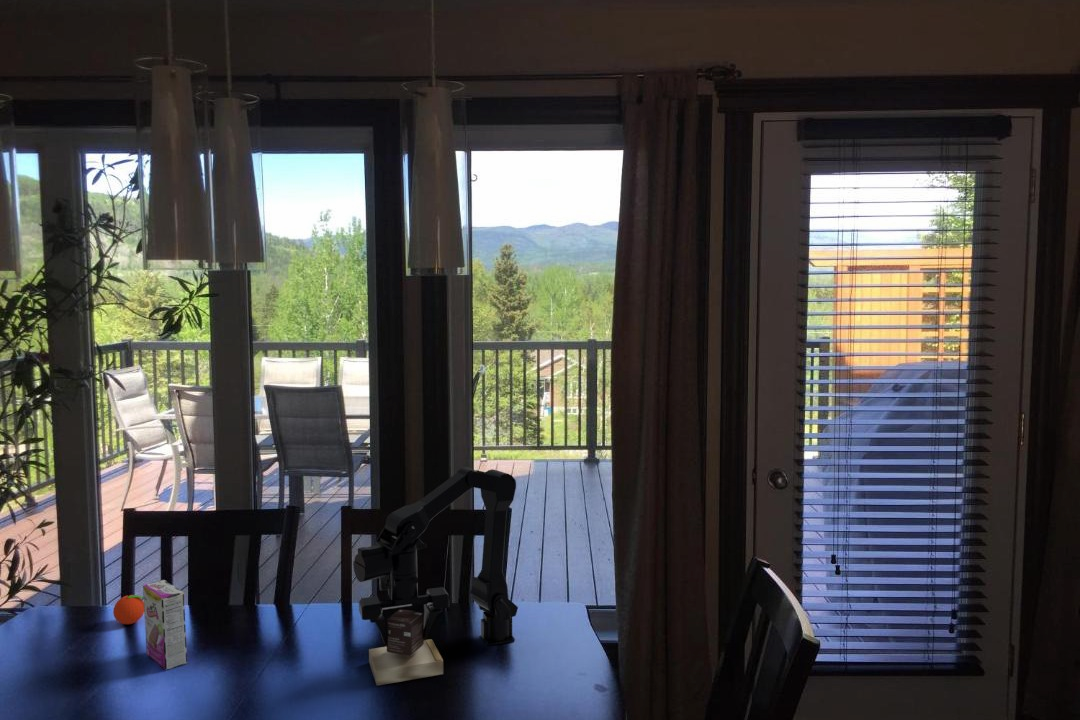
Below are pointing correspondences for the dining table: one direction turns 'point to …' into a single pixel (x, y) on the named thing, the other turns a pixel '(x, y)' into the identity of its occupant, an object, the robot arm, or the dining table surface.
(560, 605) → the dining table surface
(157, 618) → the candy bar box
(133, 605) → the clementine
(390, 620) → the box
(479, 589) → the robot arm
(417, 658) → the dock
